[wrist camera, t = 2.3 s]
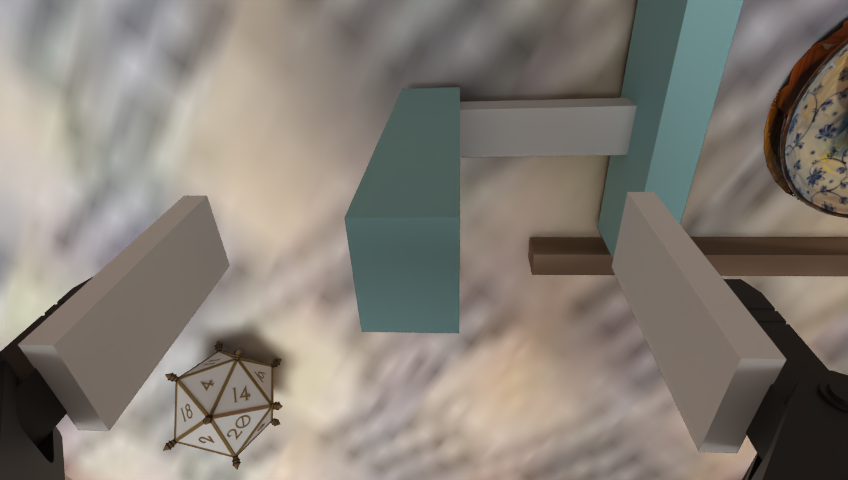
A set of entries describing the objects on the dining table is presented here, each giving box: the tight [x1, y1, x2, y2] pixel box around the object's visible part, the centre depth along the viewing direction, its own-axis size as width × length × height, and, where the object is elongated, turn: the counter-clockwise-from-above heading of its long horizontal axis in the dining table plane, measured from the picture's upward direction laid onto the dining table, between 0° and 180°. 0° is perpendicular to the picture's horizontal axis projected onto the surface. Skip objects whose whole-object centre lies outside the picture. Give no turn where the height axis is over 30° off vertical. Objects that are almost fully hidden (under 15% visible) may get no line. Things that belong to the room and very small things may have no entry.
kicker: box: [345, 0, 743, 333], centre depth 19 cm, size 14×14×15 cm
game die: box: [163, 341, 283, 469], centre depth 35 cm, size 9×8×10 cm
